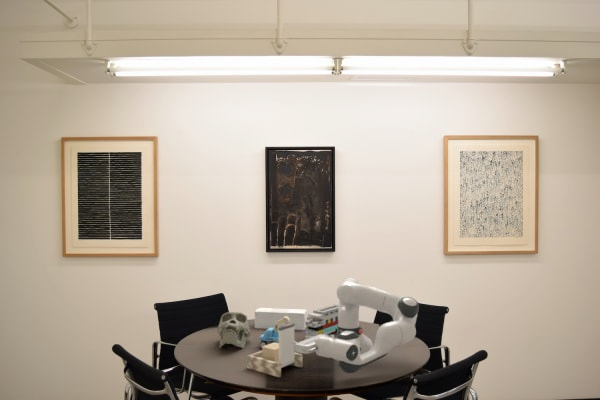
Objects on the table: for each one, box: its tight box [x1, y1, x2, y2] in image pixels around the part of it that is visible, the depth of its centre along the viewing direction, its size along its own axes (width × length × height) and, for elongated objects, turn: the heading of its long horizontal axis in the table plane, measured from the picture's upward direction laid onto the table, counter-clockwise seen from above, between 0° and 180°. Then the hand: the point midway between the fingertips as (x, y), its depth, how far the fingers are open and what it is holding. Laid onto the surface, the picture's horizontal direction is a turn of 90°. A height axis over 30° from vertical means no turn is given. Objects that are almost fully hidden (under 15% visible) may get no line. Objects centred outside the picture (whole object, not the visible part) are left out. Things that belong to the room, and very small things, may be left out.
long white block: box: [254, 307, 308, 331], centre depth 309 cm, size 32×11×11 cm, turn 81°
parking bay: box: [246, 350, 304, 378], centre depth 236 cm, size 20×18×6 cm
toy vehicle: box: [304, 303, 339, 337], centre depth 293 cm, size 8×30×15 cm, turn 141°
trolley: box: [261, 323, 295, 369], centre depth 235 cm, size 14×12×22 cm
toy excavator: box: [259, 316, 290, 349], centre depth 267 cm, size 9×17×17 cm, turn 78°
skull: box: [217, 311, 252, 349], centre depth 271 cm, size 18×21×28 cm
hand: (299, 340), depth 226 cm, fingers open, 8 cm apart
